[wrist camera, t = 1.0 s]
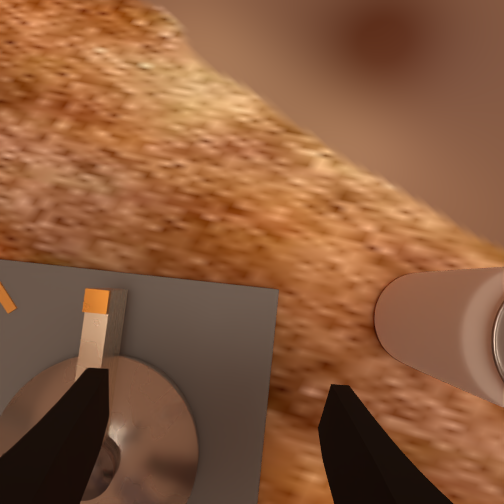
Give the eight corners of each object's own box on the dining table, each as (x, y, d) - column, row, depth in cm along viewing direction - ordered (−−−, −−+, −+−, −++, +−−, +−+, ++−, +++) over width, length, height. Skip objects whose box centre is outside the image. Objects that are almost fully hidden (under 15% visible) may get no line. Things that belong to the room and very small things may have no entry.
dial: (186, 560, 24) (176, 633, 19) (-16, 547, 24) (-82, 618, 19) (216, 298, 26) (214, 301, 21) (26, 278, 25) (-24, 276, 20)
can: (352, 321, 28) (450, 349, 16) (412, 253, 28) (550, 230, 16) (421, 386, 28) (571, 463, 16) (479, 316, 28) (666, 339, 16)
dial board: (247, 583, 26) (248, 597, 25) (-93, 562, 24) (-109, 575, 23) (276, 289, 27) (279, 289, 26) (-40, 255, 26) (-52, 253, 25)
